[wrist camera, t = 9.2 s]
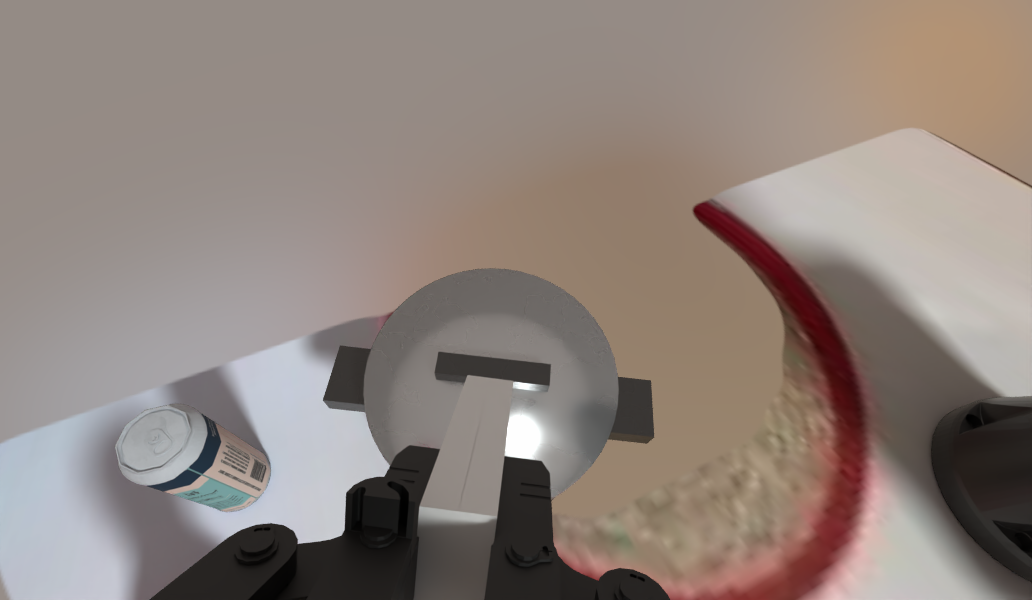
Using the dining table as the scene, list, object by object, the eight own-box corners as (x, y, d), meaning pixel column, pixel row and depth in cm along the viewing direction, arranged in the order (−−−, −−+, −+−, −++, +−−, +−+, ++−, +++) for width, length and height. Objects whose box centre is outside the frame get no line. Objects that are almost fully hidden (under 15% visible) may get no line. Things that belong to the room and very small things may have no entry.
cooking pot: (616, 365, 45) (652, 304, 36) (619, 543, 37) (666, 525, 28) (382, 339, 45) (356, 271, 36) (336, 511, 37) (288, 483, 28)
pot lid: (613, 290, 36) (623, 269, 33) (614, 547, 27) (627, 545, 25) (397, 265, 35) (391, 243, 33) (333, 515, 27) (318, 510, 25)
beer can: (249, 437, 40) (169, 382, 30) (286, 476, 38) (215, 433, 28) (195, 484, 38) (89, 443, 27) (232, 527, 36) (135, 500, 26)
